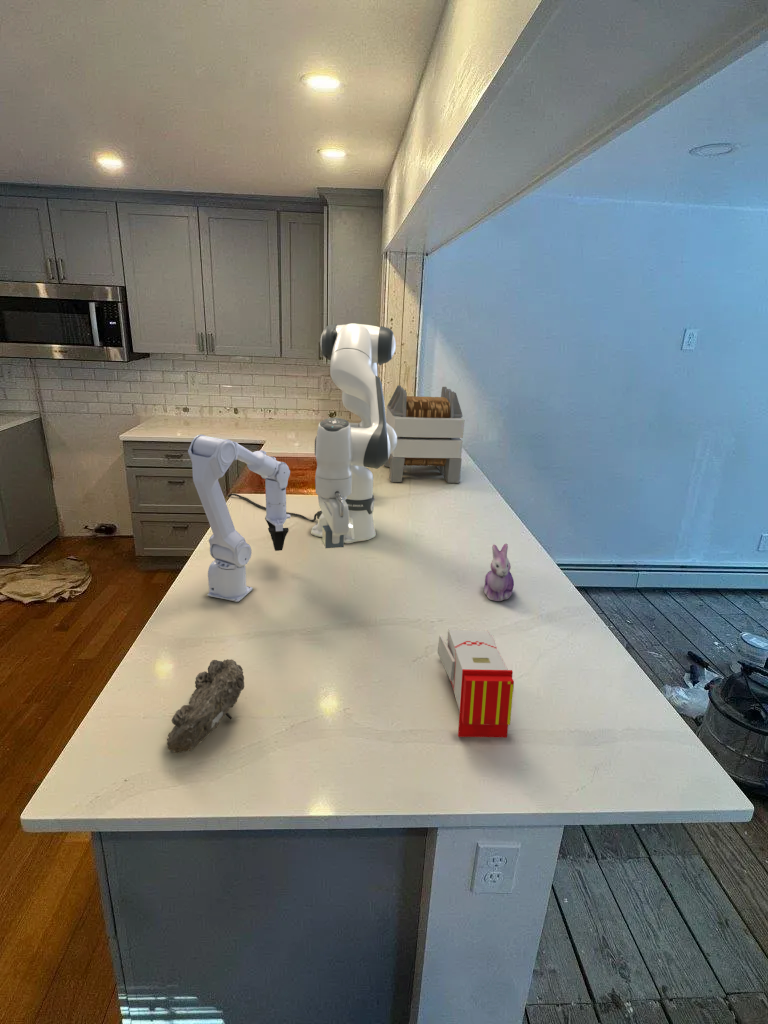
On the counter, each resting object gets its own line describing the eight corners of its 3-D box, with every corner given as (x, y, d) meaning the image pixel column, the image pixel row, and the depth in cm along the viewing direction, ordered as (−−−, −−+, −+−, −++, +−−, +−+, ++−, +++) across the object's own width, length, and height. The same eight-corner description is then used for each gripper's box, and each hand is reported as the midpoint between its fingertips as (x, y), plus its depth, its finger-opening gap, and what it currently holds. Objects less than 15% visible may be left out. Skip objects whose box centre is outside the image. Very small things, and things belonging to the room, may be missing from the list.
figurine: (496, 605, 154) (502, 555, 148) (473, 589, 162) (479, 540, 157) (523, 599, 158) (530, 549, 153) (500, 583, 166) (506, 536, 161)
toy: (488, 613, 130) (523, 677, 101) (484, 667, 133) (517, 744, 104) (435, 612, 130) (455, 676, 101) (432, 666, 133) (451, 743, 103)
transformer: (382, 463, 289) (386, 382, 275) (445, 464, 293) (451, 384, 279) (390, 482, 257) (394, 392, 243) (460, 483, 261) (468, 394, 247)
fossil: (192, 660, 117) (244, 628, 112) (224, 691, 120) (276, 661, 115) (142, 746, 98) (202, 712, 93) (182, 779, 101) (242, 748, 96)
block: (343, 547, 143) (343, 530, 141) (325, 548, 141) (325, 532, 140) (339, 540, 147) (340, 524, 145) (322, 541, 145) (322, 525, 144)
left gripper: (293, 509, 157) (294, 553, 162) (286, 493, 170) (287, 534, 175) (267, 510, 155) (269, 555, 160) (262, 494, 168) (264, 536, 173)
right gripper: (356, 499, 130) (354, 553, 135) (337, 473, 149) (337, 522, 153) (329, 500, 129) (328, 555, 133) (313, 474, 147) (313, 524, 152)
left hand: (277, 545), depth 167 cm, fingers open, 7 cm apart
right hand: (333, 538), depth 144 cm, fingers closed on block, 4 cm apart
